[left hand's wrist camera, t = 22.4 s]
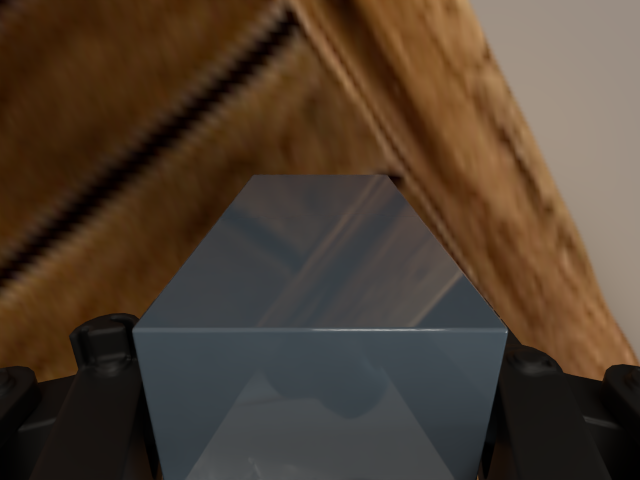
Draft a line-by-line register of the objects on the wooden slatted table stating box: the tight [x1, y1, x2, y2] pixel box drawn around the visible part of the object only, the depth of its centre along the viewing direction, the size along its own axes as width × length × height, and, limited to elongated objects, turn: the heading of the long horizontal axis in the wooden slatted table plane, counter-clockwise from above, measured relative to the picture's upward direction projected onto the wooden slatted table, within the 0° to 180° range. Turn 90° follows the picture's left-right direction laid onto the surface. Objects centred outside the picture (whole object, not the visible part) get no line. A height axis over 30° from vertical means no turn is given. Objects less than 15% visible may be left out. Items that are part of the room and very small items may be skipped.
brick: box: [132, 175, 508, 480], centre depth 11 cm, size 6×5×11 cm
